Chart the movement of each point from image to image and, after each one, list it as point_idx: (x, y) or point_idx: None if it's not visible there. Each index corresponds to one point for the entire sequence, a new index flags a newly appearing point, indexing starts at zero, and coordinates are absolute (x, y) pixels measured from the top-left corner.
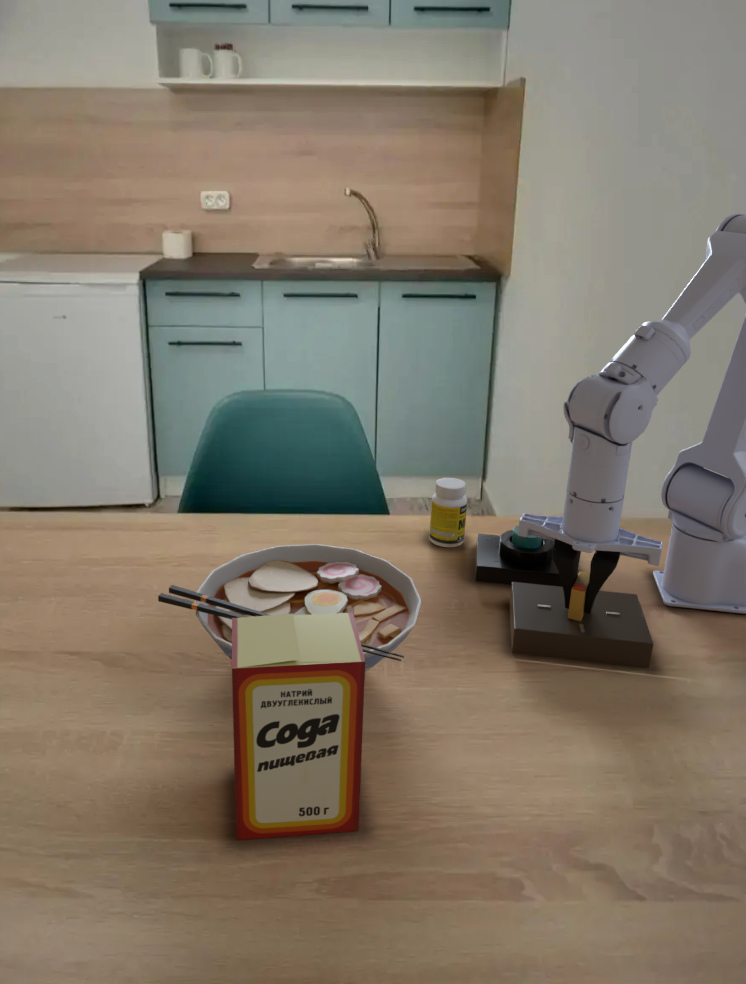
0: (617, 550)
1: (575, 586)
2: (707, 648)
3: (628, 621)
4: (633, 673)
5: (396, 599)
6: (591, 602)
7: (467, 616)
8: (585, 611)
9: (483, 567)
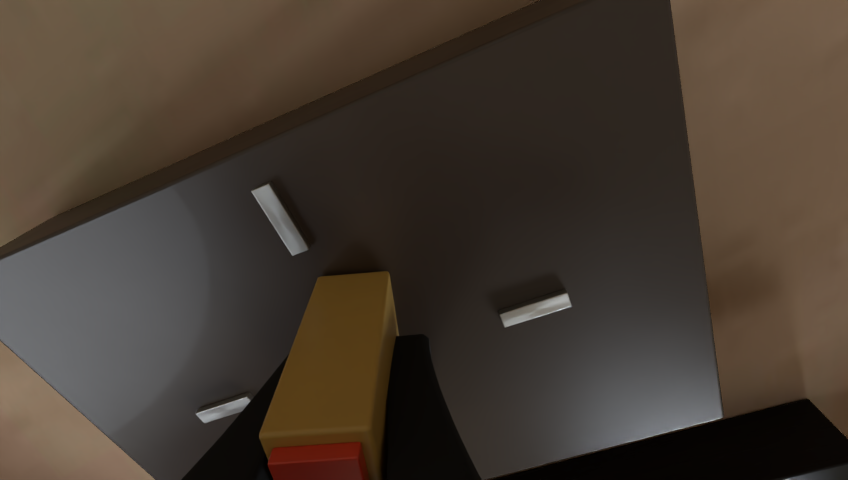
0: None
1: (346, 464)
2: (2, 419)
3: (143, 389)
4: (71, 151)
5: None
6: (260, 396)
7: (840, 168)
8: None
9: (832, 461)
